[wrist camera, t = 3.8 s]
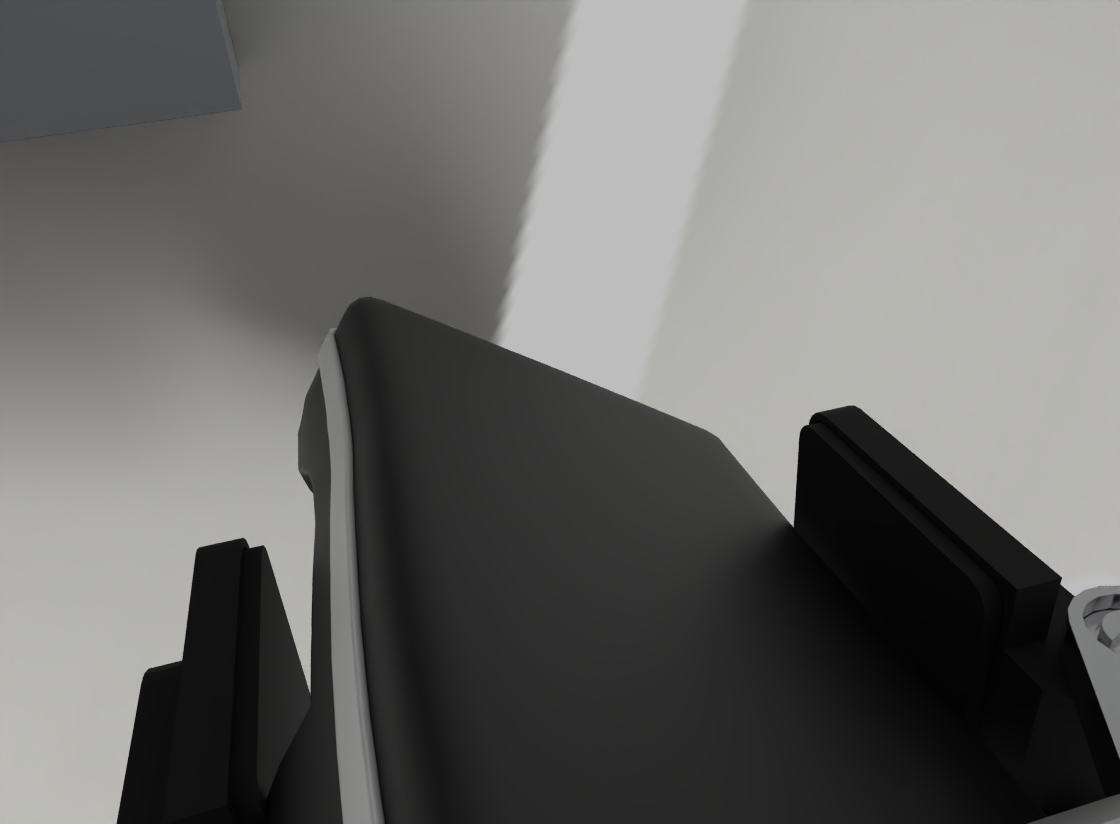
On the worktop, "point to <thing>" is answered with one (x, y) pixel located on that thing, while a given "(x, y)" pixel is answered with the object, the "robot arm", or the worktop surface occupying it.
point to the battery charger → (583, 618)
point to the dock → (112, 64)
